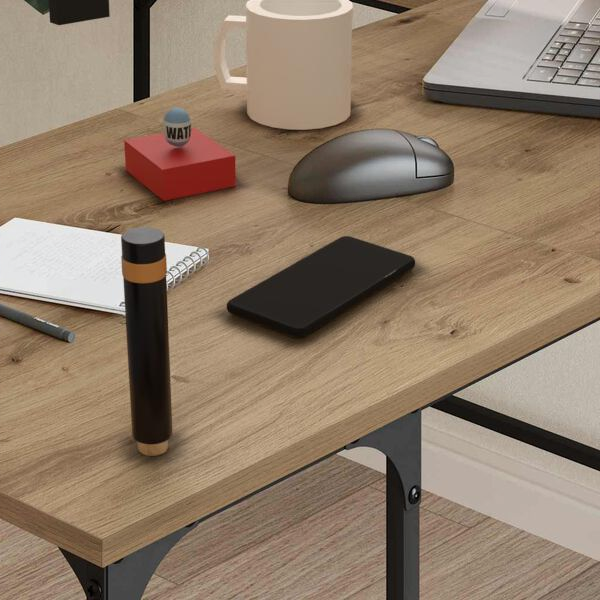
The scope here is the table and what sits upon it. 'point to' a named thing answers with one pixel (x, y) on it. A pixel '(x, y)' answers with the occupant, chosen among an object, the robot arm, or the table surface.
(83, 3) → the robot arm
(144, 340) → the marker
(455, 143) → the table surface
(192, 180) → the red rectangular block
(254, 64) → the mug
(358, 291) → the smartphone
